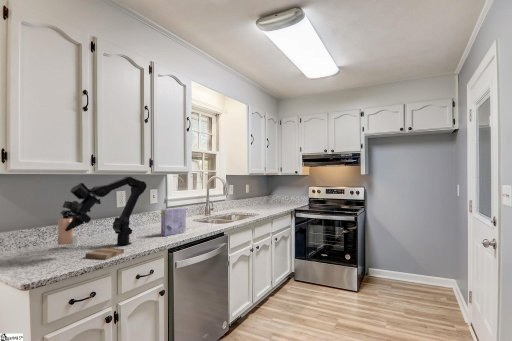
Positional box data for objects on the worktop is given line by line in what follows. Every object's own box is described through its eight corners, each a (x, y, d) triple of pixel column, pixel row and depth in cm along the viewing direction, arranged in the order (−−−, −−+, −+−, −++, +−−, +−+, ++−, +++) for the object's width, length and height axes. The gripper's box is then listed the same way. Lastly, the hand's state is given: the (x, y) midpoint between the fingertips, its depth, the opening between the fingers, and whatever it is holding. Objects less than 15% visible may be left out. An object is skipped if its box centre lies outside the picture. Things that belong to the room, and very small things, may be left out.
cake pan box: (182, 231, 208) (182, 207, 209) (187, 232, 205) (187, 207, 206) (160, 235, 192) (160, 209, 193) (165, 236, 189) (165, 209, 190)
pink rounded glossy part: (65, 241, 144) (65, 217, 144) (75, 242, 143) (75, 218, 143) (54, 244, 138) (55, 219, 138) (65, 245, 137) (65, 219, 137)
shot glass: (65, 249, 156) (65, 236, 156) (64, 246, 162) (64, 234, 162) (79, 247, 160) (79, 234, 160) (78, 245, 166) (78, 232, 166)
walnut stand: (104, 251, 151) (104, 247, 151) (123, 253, 148) (123, 249, 148) (85, 257, 139) (85, 253, 139) (106, 259, 137) (106, 255, 137)
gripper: (64, 194, 149) (39, 218, 139) (84, 195, 139) (59, 221, 130) (80, 208, 156) (57, 232, 146) (100, 210, 146) (77, 235, 136)
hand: (62, 230), depth 139 cm, fingers closed on pink rounded glossy part, 6 cm apart
